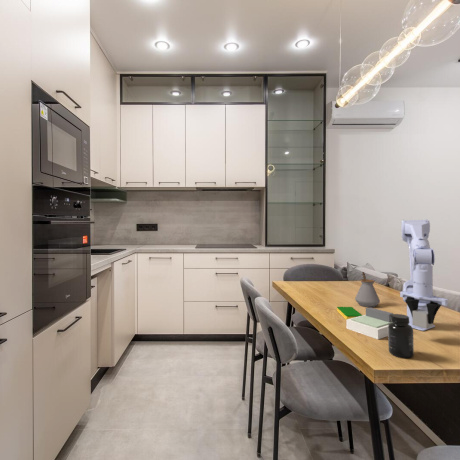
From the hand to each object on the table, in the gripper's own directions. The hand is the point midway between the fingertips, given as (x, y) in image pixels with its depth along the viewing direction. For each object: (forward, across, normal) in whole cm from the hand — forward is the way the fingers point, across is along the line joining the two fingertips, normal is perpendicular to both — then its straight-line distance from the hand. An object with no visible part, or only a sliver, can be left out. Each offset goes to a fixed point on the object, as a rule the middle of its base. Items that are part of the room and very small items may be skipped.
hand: (422, 321), depth 100 cm
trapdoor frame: (+7, -15, -6) cm, 18 cm away
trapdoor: (+4, -15, -6) cm, 17 cm away
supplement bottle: (+7, +2, -18) cm, 19 cm away
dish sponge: (+7, -32, +3) cm, 33 cm away
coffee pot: (+7, -41, +29) cm, 51 cm away
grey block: (+2, 0, 0) cm, 2 cm away
